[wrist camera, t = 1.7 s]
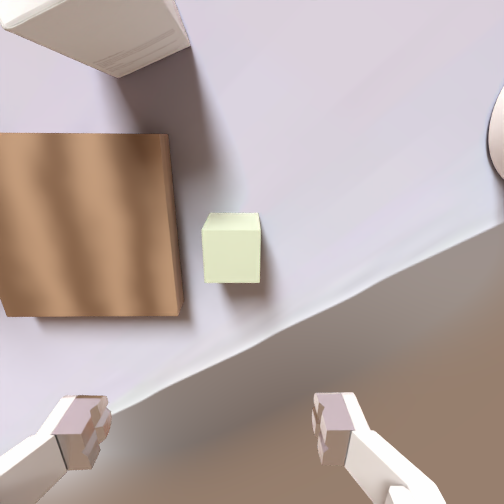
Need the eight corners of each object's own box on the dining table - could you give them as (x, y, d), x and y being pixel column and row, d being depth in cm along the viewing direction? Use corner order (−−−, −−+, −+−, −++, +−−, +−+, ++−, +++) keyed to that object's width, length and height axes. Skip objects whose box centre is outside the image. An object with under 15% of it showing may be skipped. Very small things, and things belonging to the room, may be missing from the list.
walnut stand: (168, 134, 27) (159, 133, 24) (183, 301, 34) (178, 315, 31) (-29, 132, 27) (-61, 132, 24) (27, 301, 33) (7, 316, 30)
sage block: (258, 212, 30) (260, 230, 24) (257, 257, 32) (259, 282, 26) (209, 212, 30) (201, 230, 24) (212, 257, 32) (204, 283, 26)
